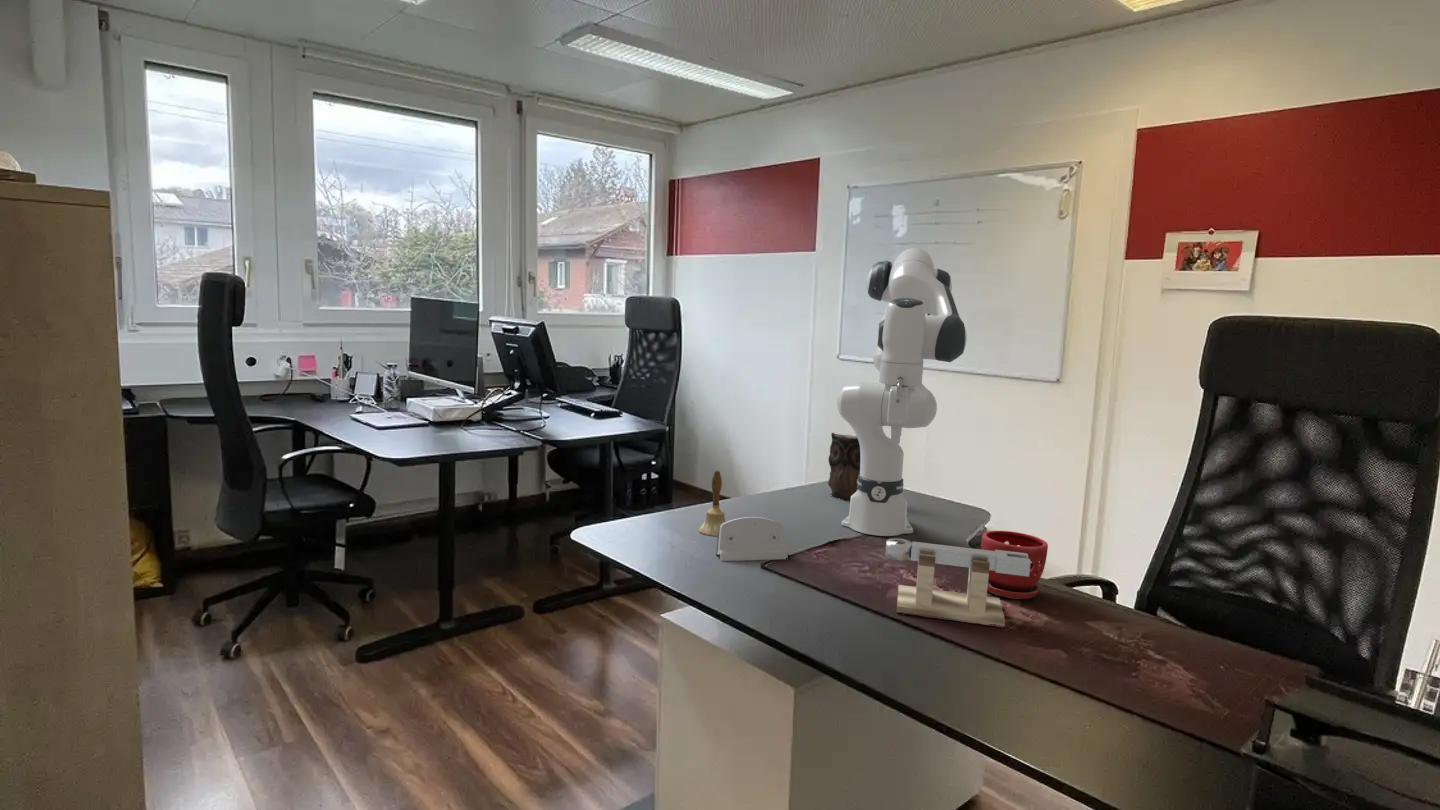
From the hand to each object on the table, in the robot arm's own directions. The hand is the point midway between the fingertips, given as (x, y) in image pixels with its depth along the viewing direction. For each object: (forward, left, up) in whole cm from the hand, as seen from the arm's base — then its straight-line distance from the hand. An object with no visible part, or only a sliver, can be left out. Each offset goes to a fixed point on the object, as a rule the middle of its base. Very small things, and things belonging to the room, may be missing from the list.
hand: (895, 440), depth 166 cm
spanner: (+13, +13, -22) cm, 28 cm away
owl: (-70, -13, -31) cm, 78 cm away
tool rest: (+13, +13, -31) cm, 36 cm away
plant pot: (-2, +26, -31) cm, 41 cm away
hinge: (-5, -31, -31) cm, 45 cm away
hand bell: (-19, -44, -31) cm, 57 cm away
